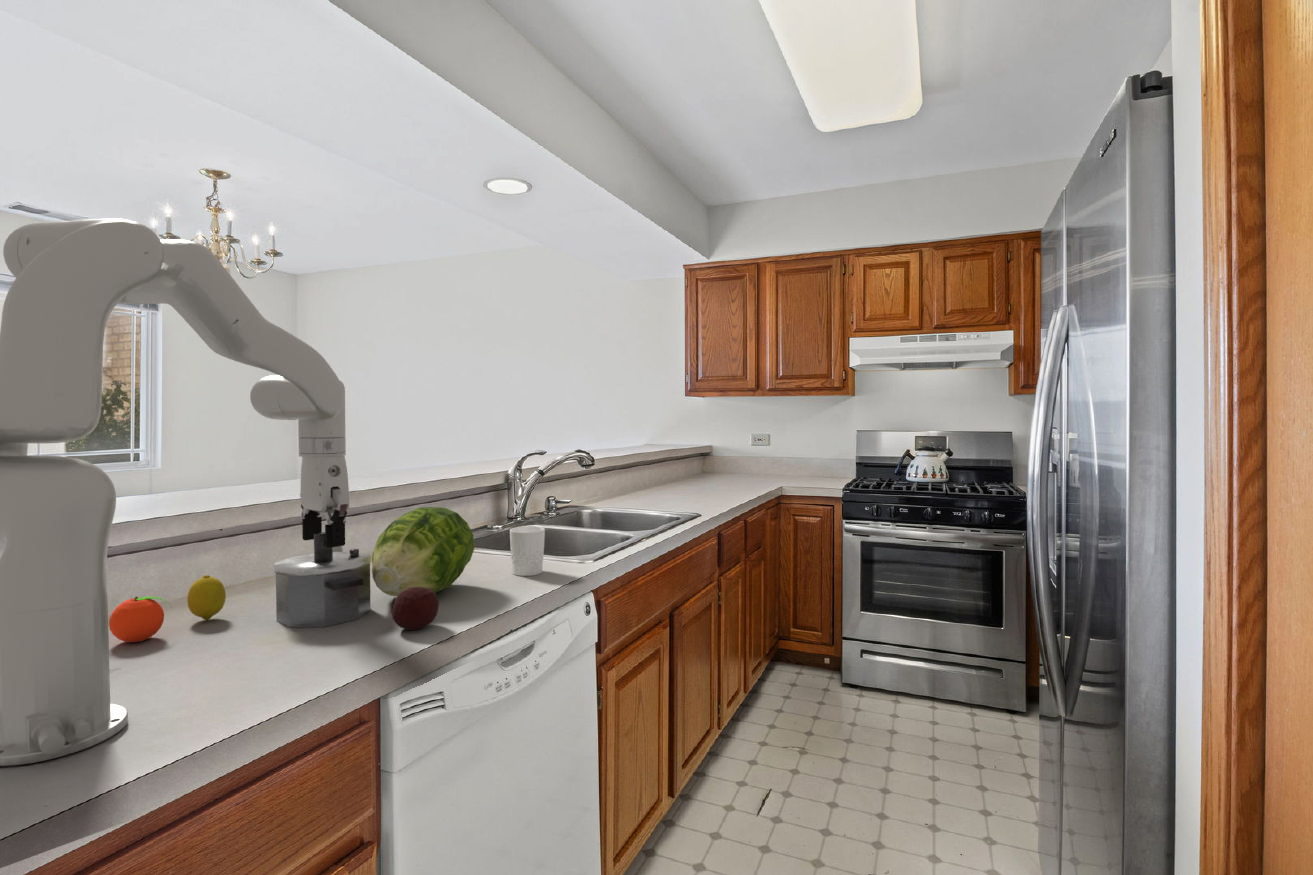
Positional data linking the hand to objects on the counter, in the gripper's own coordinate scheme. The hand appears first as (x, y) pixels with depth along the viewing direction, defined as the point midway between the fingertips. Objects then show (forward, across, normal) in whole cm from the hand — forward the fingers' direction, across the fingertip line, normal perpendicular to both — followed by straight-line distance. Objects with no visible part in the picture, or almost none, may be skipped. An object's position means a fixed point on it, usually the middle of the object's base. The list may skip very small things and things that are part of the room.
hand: (323, 542), depth 118 cm
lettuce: (+13, -1, -18) cm, 22 cm away
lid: (+4, 0, 0) cm, 4 cm away
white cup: (+13, -2, -44) cm, 46 cm away
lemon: (+13, +12, +15) cm, 23 cm away
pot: (+13, 0, 0) cm, 13 cm away
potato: (+13, -19, -7) cm, 24 cm away
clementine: (+13, +8, +25) cm, 29 cm away
